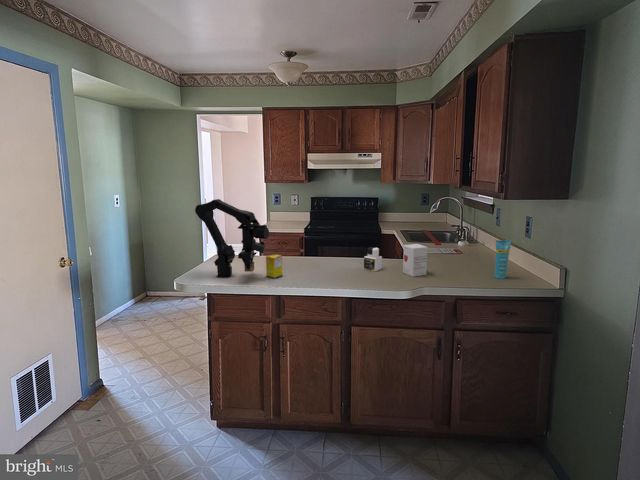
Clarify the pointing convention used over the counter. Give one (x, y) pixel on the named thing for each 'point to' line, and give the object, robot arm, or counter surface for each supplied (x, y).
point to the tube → (502, 258)
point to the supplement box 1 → (274, 266)
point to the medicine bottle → (373, 260)
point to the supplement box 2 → (415, 259)
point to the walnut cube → (250, 267)
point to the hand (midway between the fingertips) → (249, 268)
